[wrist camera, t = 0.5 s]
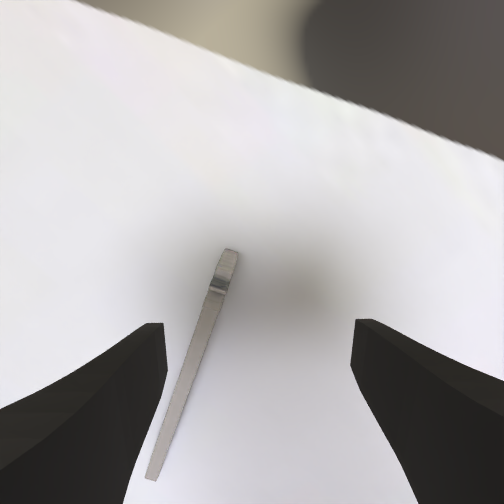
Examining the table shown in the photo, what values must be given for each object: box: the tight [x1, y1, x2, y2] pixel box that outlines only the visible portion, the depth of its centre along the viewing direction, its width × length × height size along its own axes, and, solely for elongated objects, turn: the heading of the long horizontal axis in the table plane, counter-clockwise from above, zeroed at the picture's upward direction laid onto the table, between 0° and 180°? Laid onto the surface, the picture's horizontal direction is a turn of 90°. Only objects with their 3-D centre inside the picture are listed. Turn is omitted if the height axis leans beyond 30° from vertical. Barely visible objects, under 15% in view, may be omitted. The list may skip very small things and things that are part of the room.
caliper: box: [145, 249, 238, 481], centre depth 19 cm, size 20×1×6 cm, turn 160°
